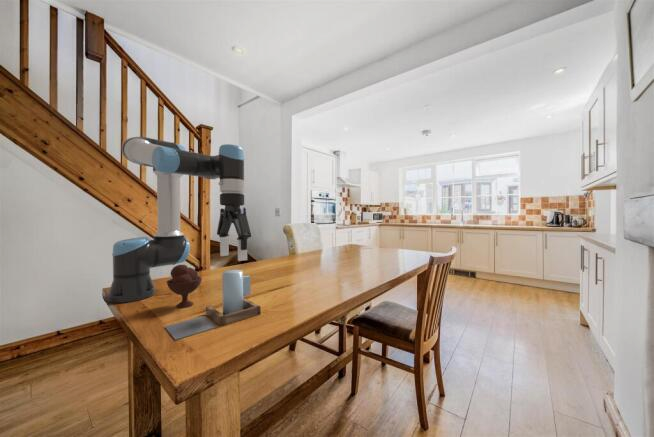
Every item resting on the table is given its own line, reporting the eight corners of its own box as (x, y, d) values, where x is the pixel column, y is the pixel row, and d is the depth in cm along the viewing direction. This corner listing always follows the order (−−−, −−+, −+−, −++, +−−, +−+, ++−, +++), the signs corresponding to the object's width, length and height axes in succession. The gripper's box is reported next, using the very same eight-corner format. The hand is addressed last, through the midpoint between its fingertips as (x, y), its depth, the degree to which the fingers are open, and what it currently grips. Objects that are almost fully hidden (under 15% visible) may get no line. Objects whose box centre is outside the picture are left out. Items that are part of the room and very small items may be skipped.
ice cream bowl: (187, 312, 85) (186, 267, 85) (159, 309, 88) (158, 266, 87) (208, 301, 96) (207, 262, 96) (182, 299, 98) (182, 261, 98)
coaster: (164, 327, 74) (164, 326, 74) (204, 316, 82) (204, 315, 82) (175, 340, 66) (175, 339, 66) (218, 327, 74) (218, 326, 74)
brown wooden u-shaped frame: (206, 313, 84) (205, 306, 84) (242, 304, 93) (242, 297, 93) (221, 326, 75) (221, 317, 75) (260, 313, 84) (260, 306, 84)
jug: (219, 314, 84) (219, 271, 84) (245, 306, 90) (244, 267, 90) (227, 319, 79) (227, 275, 79) (254, 311, 86) (253, 270, 85)
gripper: (206, 195, 89) (207, 255, 90) (238, 189, 72) (239, 264, 72) (227, 196, 95) (228, 252, 95) (262, 191, 77) (262, 261, 77)
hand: (233, 258), depth 83 cm, fingers open, 13 cm apart
